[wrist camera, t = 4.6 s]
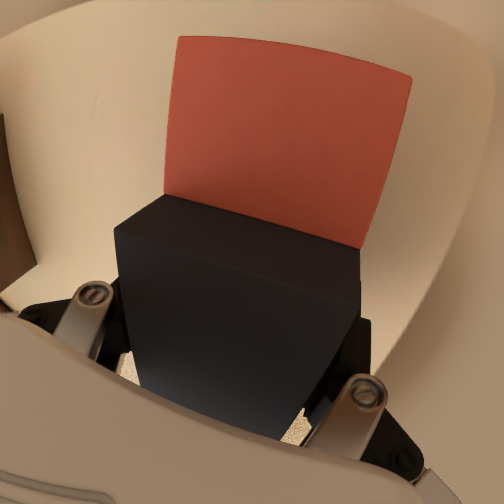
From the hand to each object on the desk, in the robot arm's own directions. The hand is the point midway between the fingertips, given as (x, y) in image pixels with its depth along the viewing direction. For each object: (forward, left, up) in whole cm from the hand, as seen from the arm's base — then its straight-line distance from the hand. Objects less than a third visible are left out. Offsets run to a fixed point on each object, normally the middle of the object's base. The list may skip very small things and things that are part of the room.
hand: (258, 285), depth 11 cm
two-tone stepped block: (-2, 0, 0) cm, 2 cm away
